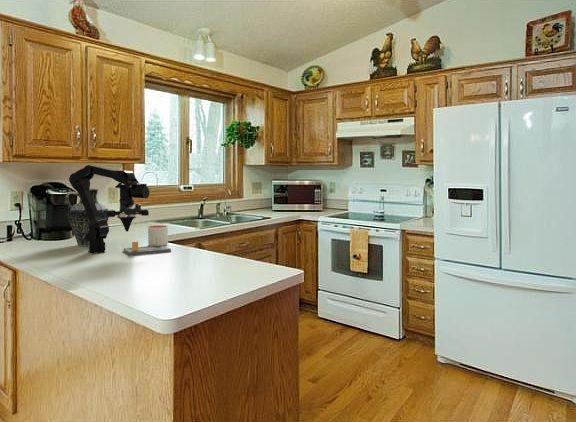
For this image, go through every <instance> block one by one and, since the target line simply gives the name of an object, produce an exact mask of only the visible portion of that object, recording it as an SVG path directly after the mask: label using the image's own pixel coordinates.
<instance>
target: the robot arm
mask: <svg viewBox="0 0 576 422" xmlns="http://www.w3.org/2000/svg"><path fill="white" fill-rule="evenodd" d="M95 175H97V176H102V177H106V178H109V179H112V180H114V181H115V182H117V184H116V185H115V187H114V188H115V189H119V201H118V202H119V211H116V210H115V209H108V210H105V211H104V216H105V217H109V218H115V216H116V217H117V218H118V219H119V220H120V221H121V224H122V225H123V227H124V230H125V232H129V230H130V226H131V224H132V222H133V221H134V219H136V218H137V215H141V216H144V217H145V216H149V210H148V209H146V208H142V207H141V206H142V205H141V203H136V204H135V200H134V199H143V200H145V199H148V198H149V196H150V189H149V187H148V184H147V183H140V182H139V181H138V178H136V176H135V173H134V171H131V170H115V169H112V168H107V167H102V166H99V165H98V166H97V165H96V164H88V165H85V166H84V167H83V168H81V169H79V170H77V171H75V172H73V173H71V174H70V175H69V177H68V182H69V183H70V185H71V187H72V188H73V189H74V190H75V192H78V193H79V196H80V197H79V196H78V197H79V199H80V198H81V201H82V203H83V206H84V208H85V211H86V213H87V216H88V218H89V226H88V228H89V232H88V233H87V234H86V235H85V240H86V241H88V243H89V246H88V251H87V253H88V254H89V255H93V254H104V253H106V241H104V240H105V239H107V237H108V235H109V232H110V226H109V224H108V222H107V220H106V219H104V220H103V219H102V218H101V217H100V215H99V213H98V210H97V208H96V205H95V203H94V200H93V198H92V195H91V193H90V190H89V189H91V188H90V187H91V180H92V179H93V178H94V177H95Z"/></svg>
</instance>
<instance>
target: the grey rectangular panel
mask: <svg viewBox="0 0 576 422" xmlns="http://www.w3.org/2000/svg"><path fill="white" fill-rule="evenodd" d="M171 251H172V248H170V247H168V246H167V245H165V246H164V245H161V246H150V245H148V246H138V250H137V251H133V250H132V247H127V248H126V247H124V248H123V252H124V253H125V254H127V256H130V257H132V256H142V255H153V254H163V253H171Z"/></svg>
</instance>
